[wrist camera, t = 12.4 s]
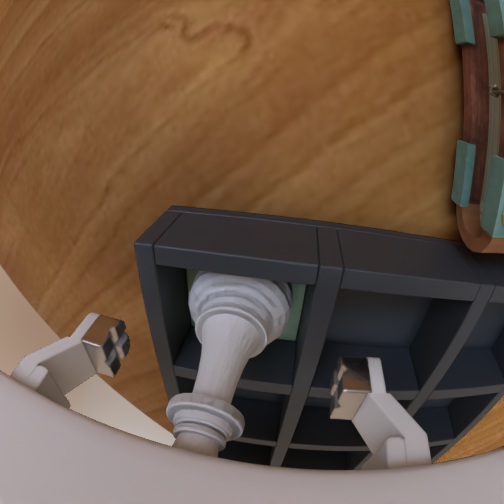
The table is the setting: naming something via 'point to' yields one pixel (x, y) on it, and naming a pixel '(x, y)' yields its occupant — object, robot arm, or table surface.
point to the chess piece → (225, 354)
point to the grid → (333, 327)
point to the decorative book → (481, 125)
